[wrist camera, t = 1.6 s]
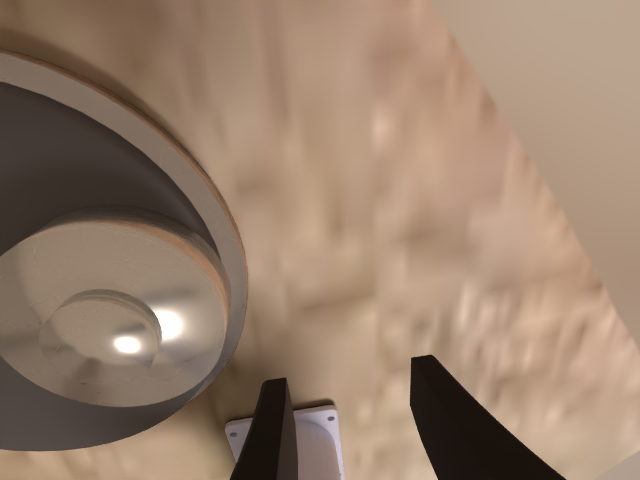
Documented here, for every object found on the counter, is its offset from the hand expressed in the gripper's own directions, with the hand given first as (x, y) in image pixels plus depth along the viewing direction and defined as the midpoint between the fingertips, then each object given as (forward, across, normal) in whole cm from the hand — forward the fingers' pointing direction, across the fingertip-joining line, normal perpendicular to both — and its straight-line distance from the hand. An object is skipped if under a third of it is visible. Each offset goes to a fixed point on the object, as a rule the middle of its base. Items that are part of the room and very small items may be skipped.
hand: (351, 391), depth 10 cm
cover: (+7, +9, 0) cm, 12 cm away
